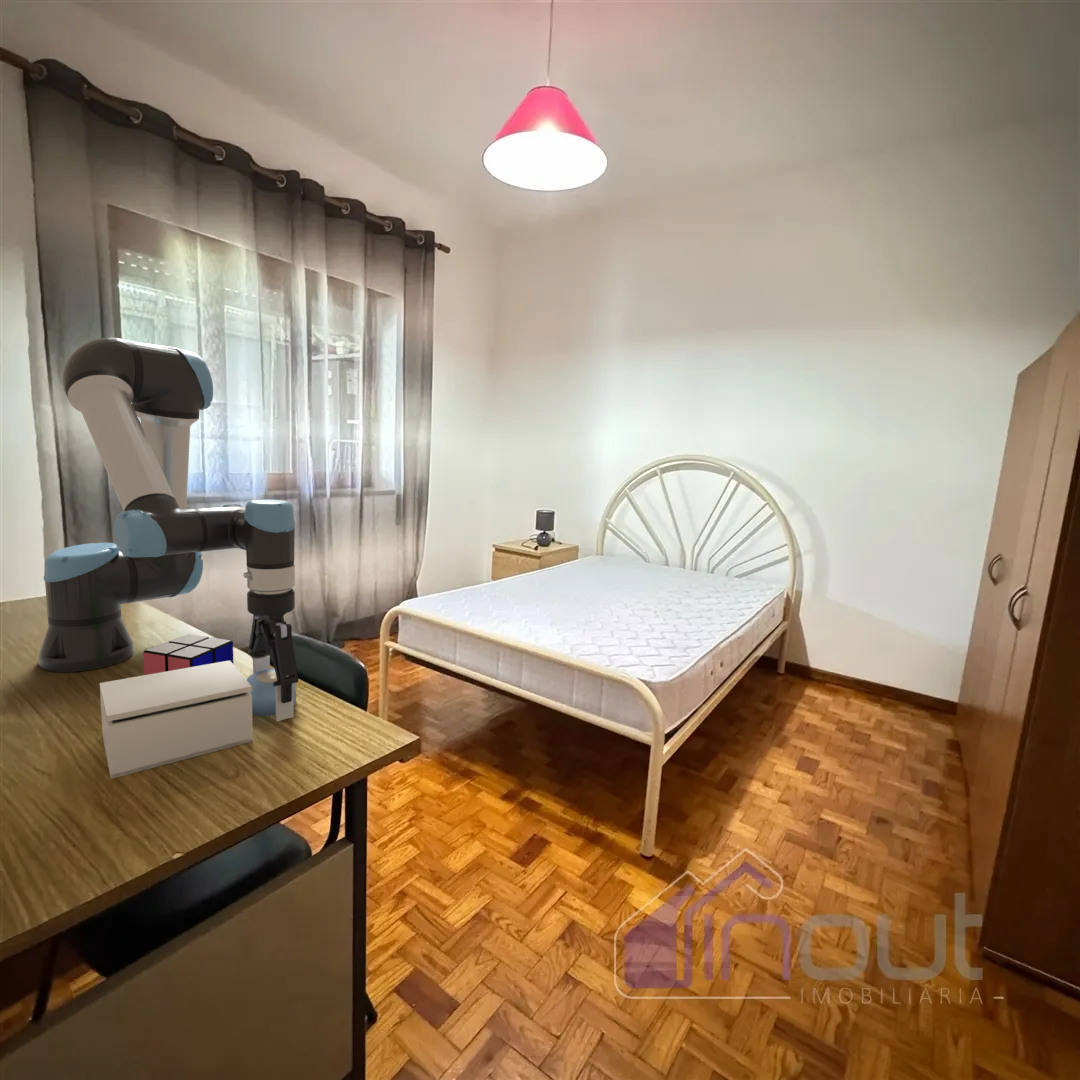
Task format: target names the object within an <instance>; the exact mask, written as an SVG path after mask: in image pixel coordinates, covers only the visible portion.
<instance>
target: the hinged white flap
mask: <svg viewBox="0 0 1080 1080" xmlns="http://www.w3.org/2000/svg"><path fill="white" fill-rule="evenodd" d="M100 691H101V695H102V700H103V705H104V709H105V714H106V718H107V722H109V721H113V720H118V719H123V718H128V717H132V716H137V715H142V714H147V713H151V712H156V711H161V710H165V709H170V708H175V707H180V706H184V705H189V704H194V703H199V702H203V701H208V700H213V699H218V698H222V697H227V696H232V695H236V694H241V693H246V692H251V691H252V686H251V685H250V684H249V682H248V681H247V678H245V677H244V675H243V674H242V673H241V671H239V670H238V668H237V667H236V666H235V664H234V662H233V663H232V662H231V661H230V660H229V661H224V662H218V663H212V664H206V665H201V666H195V667H189V668H183V669H178V670H172V671H166V672H160V673H155V674H149V675H144V674H143V675H138V676H132V677H127V678H122V679H117V680H115V679H114V680H111V681H109V680H108V681H104V682H99V692H100Z"/></svg>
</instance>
